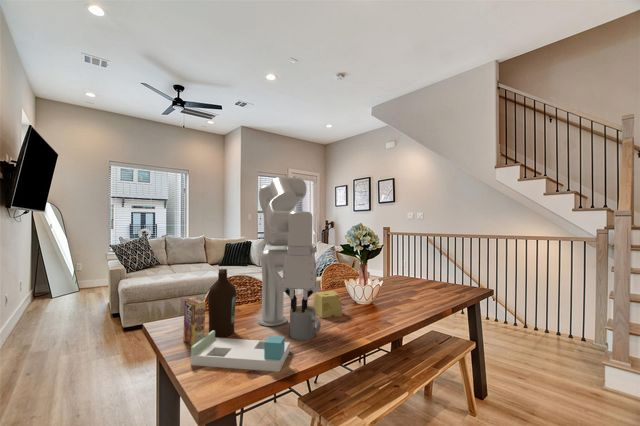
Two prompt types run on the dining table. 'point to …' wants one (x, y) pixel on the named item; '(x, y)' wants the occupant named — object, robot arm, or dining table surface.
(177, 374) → the dining table surface
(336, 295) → the cheese
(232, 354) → the white board with holes
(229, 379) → the dining table surface
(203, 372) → the dining table surface
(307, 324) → the coffee mug
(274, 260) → the robot arm
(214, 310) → the olive oil
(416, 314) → the dining table surface
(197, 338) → the candy box
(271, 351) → the block
